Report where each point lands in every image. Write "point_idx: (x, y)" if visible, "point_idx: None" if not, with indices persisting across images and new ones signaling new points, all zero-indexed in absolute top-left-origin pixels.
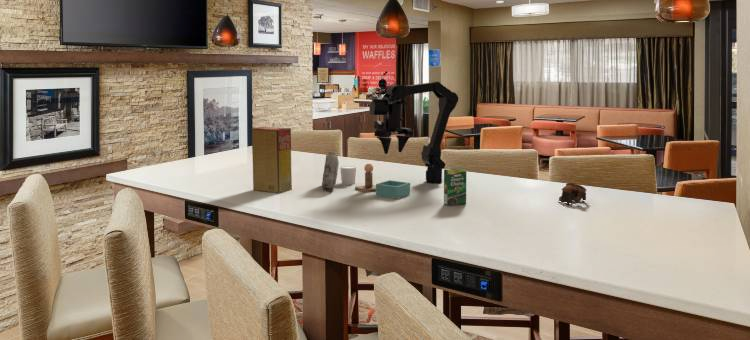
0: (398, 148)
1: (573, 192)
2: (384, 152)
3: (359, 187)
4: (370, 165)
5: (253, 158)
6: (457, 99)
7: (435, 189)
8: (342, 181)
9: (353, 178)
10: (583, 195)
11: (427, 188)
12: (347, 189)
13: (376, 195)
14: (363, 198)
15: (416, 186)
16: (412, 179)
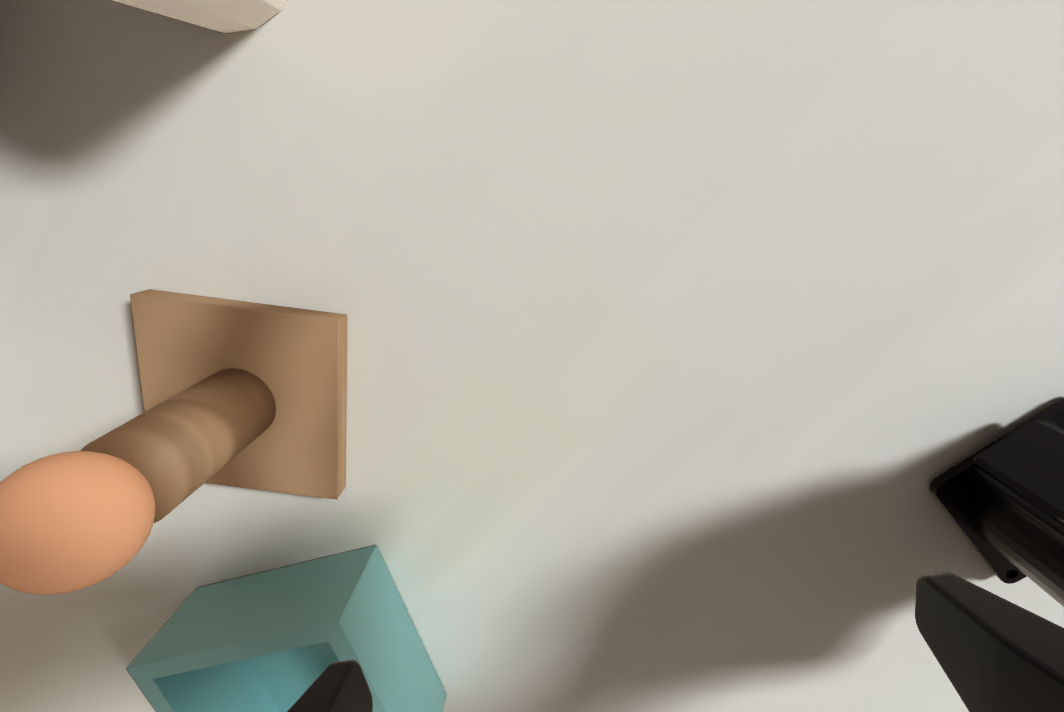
0: (1004, 653)
1: None
2: (308, 690)
3: (153, 354)
4: (36, 593)
5: None
6: None
7: (728, 692)
8: None
9: (204, 14)
10: None
11: (712, 638)
12: (71, 253)
13: (199, 592)
14: (70, 599)
15: (709, 537)
16: (998, 255)
